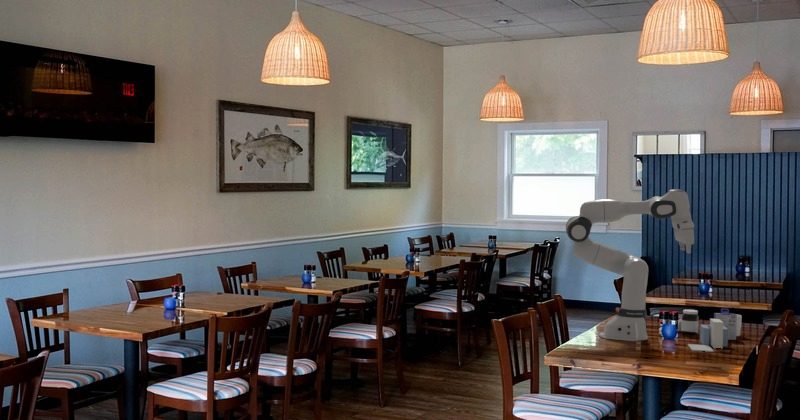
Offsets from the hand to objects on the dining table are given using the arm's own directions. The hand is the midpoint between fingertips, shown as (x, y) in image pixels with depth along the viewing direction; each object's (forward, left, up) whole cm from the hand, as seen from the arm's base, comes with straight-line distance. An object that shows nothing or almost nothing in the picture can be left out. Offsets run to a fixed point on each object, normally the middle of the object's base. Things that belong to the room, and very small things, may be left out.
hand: (685, 251), depth 374 cm
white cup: (+27, +25, -43) cm, 56 cm away
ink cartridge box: (+21, +13, -43) cm, 49 cm away
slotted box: (+13, -3, -42) cm, 44 cm away
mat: (+5, -17, -42) cm, 46 cm away
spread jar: (+5, +24, -43) cm, 49 cm away
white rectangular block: (+13, -9, -42) cm, 45 cm away
